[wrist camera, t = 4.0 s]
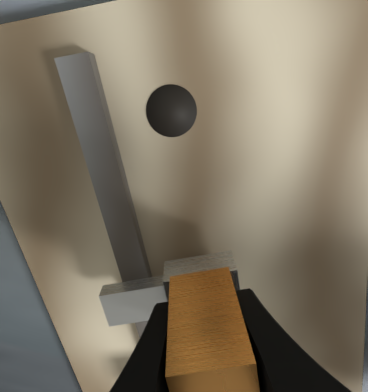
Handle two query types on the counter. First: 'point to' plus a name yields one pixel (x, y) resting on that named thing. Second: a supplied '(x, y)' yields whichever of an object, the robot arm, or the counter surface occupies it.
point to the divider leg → (193, 322)
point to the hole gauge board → (191, 162)
